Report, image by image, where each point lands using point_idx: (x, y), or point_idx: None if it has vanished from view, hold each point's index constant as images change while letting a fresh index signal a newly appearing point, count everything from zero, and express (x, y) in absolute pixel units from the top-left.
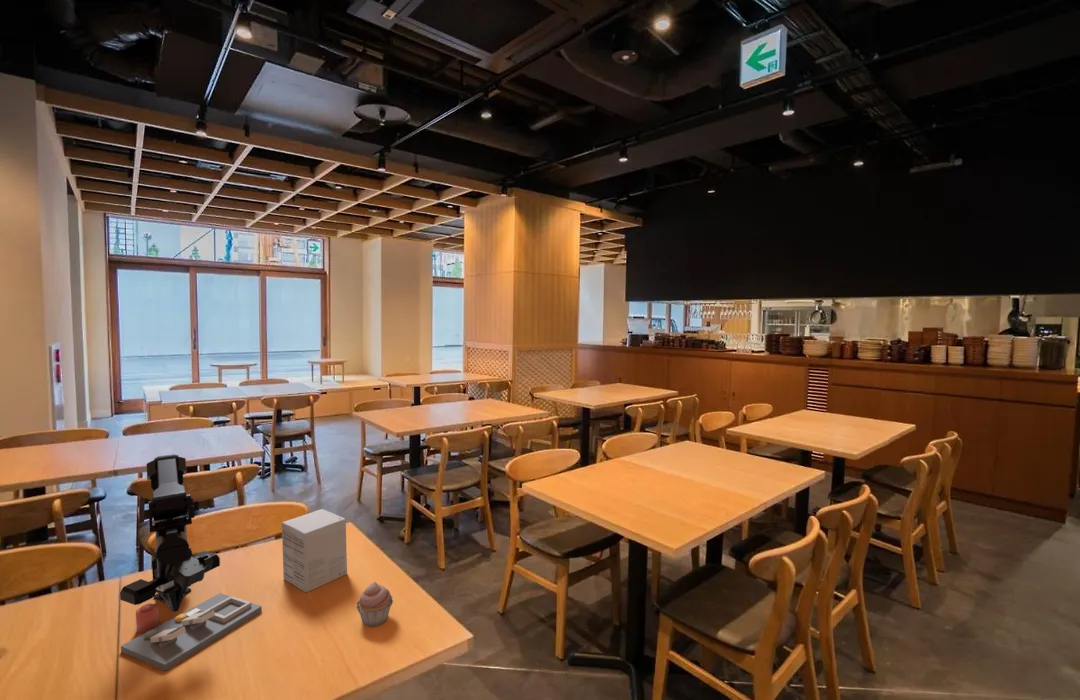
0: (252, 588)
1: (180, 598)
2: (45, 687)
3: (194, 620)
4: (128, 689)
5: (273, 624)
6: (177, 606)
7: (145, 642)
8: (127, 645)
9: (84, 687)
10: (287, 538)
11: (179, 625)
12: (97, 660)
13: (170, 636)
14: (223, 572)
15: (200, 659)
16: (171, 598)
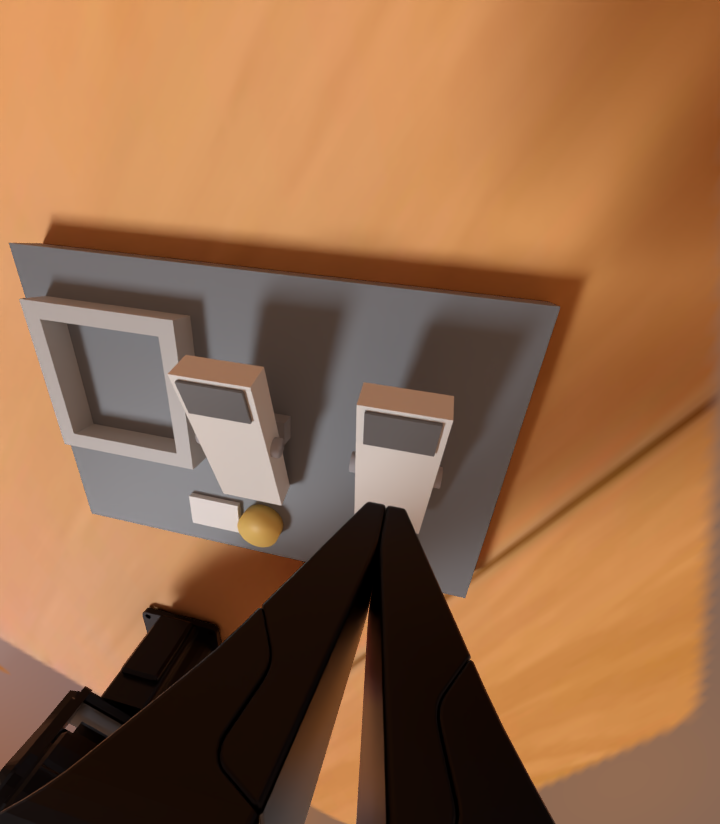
0: (8, 435)
1: (317, 601)
2: (678, 649)
3: (268, 429)
4: (704, 356)
5: (44, 38)
6: (372, 535)
7: (424, 534)
8: (457, 579)
9: (681, 541)
10: None
11: (292, 498)
12: (518, 609)
13: (452, 413)
14: (43, 588)
15: (426, 193)
16: (498, 751)
